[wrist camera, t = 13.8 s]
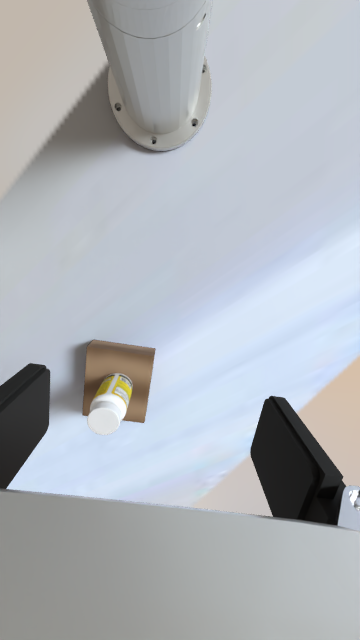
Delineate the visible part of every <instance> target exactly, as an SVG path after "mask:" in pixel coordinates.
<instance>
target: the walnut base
mask: <svg viewBox="0 0 360 640" xmlns="http://www.w3.org/2000/svg"><path fill="white" fill-rule="evenodd" d="M154 355H155V348H148V347H141V346H134V345H127V344H120V343H113V342H106V341H99V340H93V341H92V342H91V343H90V344H89V345H88V346H87V355H86V370H85V385H84V400H83V415H84V416H88V415H89V413H90V406H91V403H92V401H93V399H94V397H95V395H96V393H97V391H98V389H99V388H100V386H101V384H102V382H103V380H104V379H105V378H106V377H107V376H108V375H110V374H113V373H121V374H124V375H126V376H127V377H128V378H129V379H130V380H131V382H132V385H133V390H132V394H131V397H130V401H129V404H128V408H127V411H126V414H125V416H124V418H123V419H122V420H124V421H132V422H140V423H144V421H145V416H146V410H147V403H148V396H149V389H150V382H151V376H152V369H153V362H154Z"/></svg>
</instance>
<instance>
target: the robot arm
mask: <svg viewBox="0 0 360 640" xmlns="http://www.w3.org/2000/svg"><path fill="white" fill-rule="evenodd" d="M87 2H88V4H89V7H90V10H91V13H92V16H93V19H94V22H95V24H96V27H97V30H98V33H99V36H100V38H101V41H102V44H103V47H104V50H105V53H106V56H107V59H108V61H109V64H110V65H109V71H108V78H107V79H108V95H109V101H110V104H111V107H112V110H113V113H114V115H115V118H116V120H117V122H118V123H119V125H120V126H121V128H122V130H123V131H124V132H125V133H126V134H127V135H128V136H129V137H130V138H131V139H132V140H133V141H135V142H136V143H137V144H139V145H141V146H143V147H145V148H147V149H151V150H155V151H167V150H172V149H175V148H178V147H180V146H182V145H184V144H185V143H187V142H188V141H190V140H191V139H192V138H193V137H194V136H195V135H196V133H197V132H198V131H199V129H200V128H201V126H202V125H203V123H204V120H205V118H206V116H207V113H208V109H209V105H210V100H211V94H212V81H211V74H210V69H209V66H208V63H207V59H206V57H205V50H206V43H207V36H208V30H209V23H210V17H211V10H212V3H213V0H87ZM202 72H203V73H202ZM118 109H121V110H120V111H118ZM193 124H195V125H196V127H194V126H192V125H193ZM153 141H155V142H156V144H152V142H153ZM49 400H50V370H49V369H46V366H45V365H39V364H32V363H30V364H28V365H27V366H26V367H24V368H23V369H22V370H20V371H19V372H18V373H17V374H15V375H14V376H13V377H11V378H10V379H9V380H7V381H6V382H5V383H4V384H2V385H1V386H0V640H360V487H359V486H351V485H350V486H347V487H346V485H345V484H344V483H343V481H342V479H343V476H342V474H341V473H340V471H339V470H338V469H337V467H336V466H335V465H334V464H333V462H332V461H331V460H330V458H329V457H328V456H327V454H326V453H325V451H324V450H323V449H322V447H321V446H320V445H319V443H318V442H317V441H316V439H315V438H314V437H313V435H312V434H311V433H310V431H309V430H308V429H307V427H306V426H305V424H304V423H303V422H302V421H301V419H300V418H299V416H298V415H297V414H296V412H295V411H294V410H293V408H292V407H291V406H290V404H289V403H288V402H287V400H286V399H285V398H282V397H275V396H270V397H269V399H266V400H265V401H264V405H263V408H262V411H261V415H260V418H259V422H258V425H257V429H256V432H255V436H254V439H253V442H252V446H251V458H252V461H253V463H254V466H255V469H256V472H257V474H258V477H259V480H260V482H261V485H262V488H263V491H264V493H265V496H266V499H267V501H268V504H269V507H270V510H271V512H272V515H273V517H270V516H261V515H252V514H243V513H234V512H225V511H217V510H208V509H198V508H189V507H180V506H171V505H161V504H152V503H142V502H132V501H123V500H113V499H103V498H93V497H83V496H73V495H62V494H52V493H42V492H32V491H21V490H10V489H6V488H7V487H8V485H9V484H10V482H11V481H12V480H13V478H14V477H15V475H16V474H17V473H18V471H19V470H20V468H21V467H22V465H23V464H24V463H25V461H26V460H27V458H28V457H29V456H30V454H31V453H32V451H33V450H34V449H35V447H36V446H37V444H38V443H39V442H40V440H41V439H42V437H43V436H44V435H45V433H46V431H47V429H48V426H49Z"/></svg>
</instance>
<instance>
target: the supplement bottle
mask: <svg viewBox="0 0 360 640" xmlns="http://www.w3.org/2000/svg"><path fill="white" fill-rule="evenodd" d="M132 390H133V385H132V382H131V380H130V379H129V378H128V377H127V376H126V375H124V374H121V373H113V374H110V375H108V376H107V377H106V378H105V379H104V380H103V382H102V384H101V386H100V388H99V389H98V391H97V393H96V395H95V397H94V399H93V401H92V403H91V406H90V413H89V415H88V418H87V423H88V426H89V428H90V429H91V430H92V431H93V432H95V433H97V434H100V435H108V434H111V433H113V432H115V431H116V430H117V428H118V427H119V424H120V422H121V420H122V419H123V418H124V416H125V414H126V411H127V408H128V404H129V401H130V397H131V394H132Z"/></svg>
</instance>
